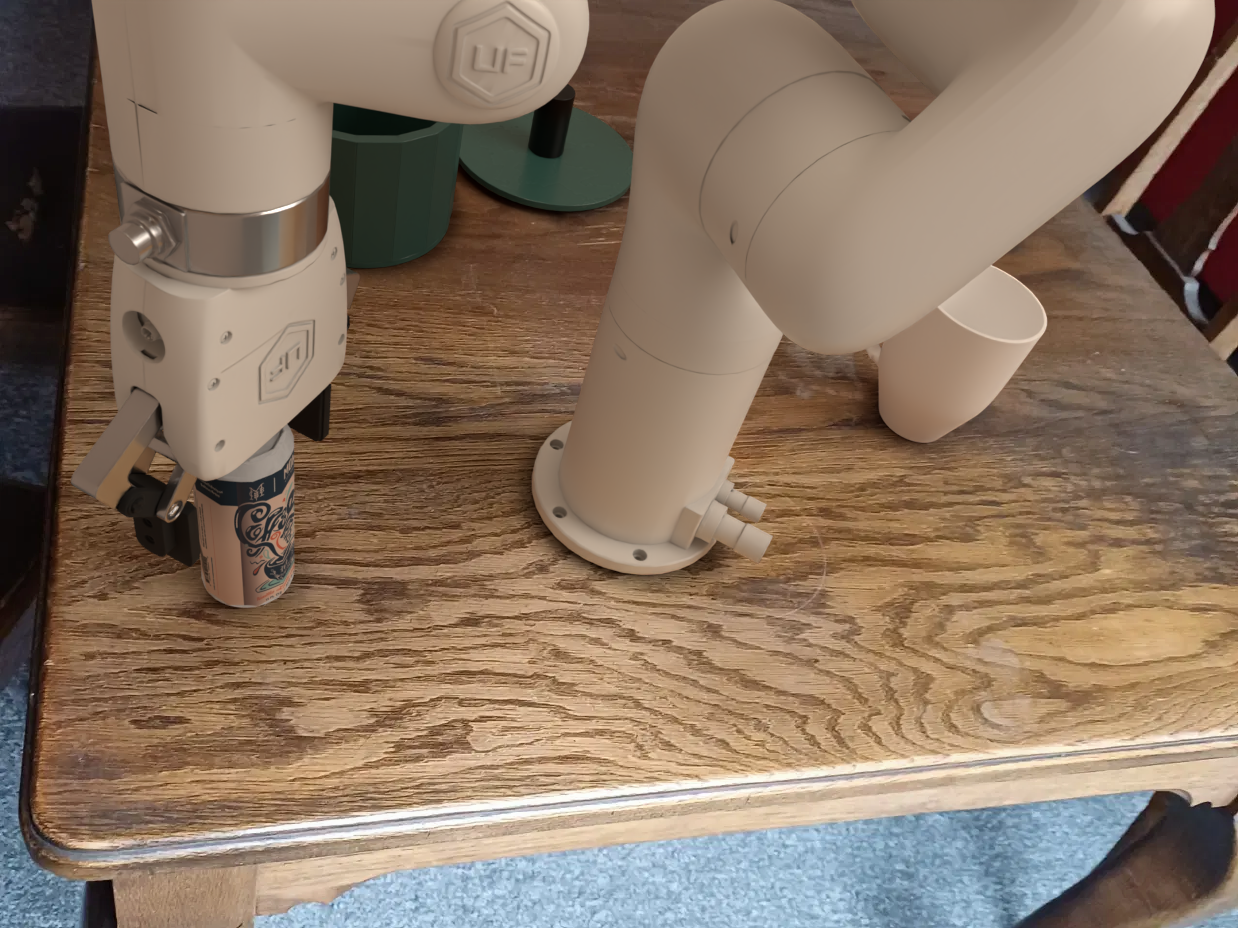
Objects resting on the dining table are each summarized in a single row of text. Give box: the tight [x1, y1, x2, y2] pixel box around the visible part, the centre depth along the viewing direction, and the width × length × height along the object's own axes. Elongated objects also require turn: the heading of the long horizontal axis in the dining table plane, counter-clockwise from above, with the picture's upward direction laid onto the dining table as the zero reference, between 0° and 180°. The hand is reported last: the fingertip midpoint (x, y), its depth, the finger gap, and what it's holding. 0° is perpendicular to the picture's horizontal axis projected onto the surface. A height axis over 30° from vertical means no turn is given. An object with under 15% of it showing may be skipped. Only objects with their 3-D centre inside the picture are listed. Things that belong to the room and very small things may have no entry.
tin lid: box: [458, 83, 633, 212], centre depth 89 cm, size 16×16×7 cm
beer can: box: [192, 424, 295, 609], centre depth 54 cm, size 5×5×12 cm
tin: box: [330, 103, 464, 269], centre depth 78 cm, size 15×15×10 cm
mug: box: [864, 264, 1048, 444], centre depth 76 cm, size 12×9×12 cm
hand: (238, 484), depth 53 cm, fingers open, 9 cm apart
